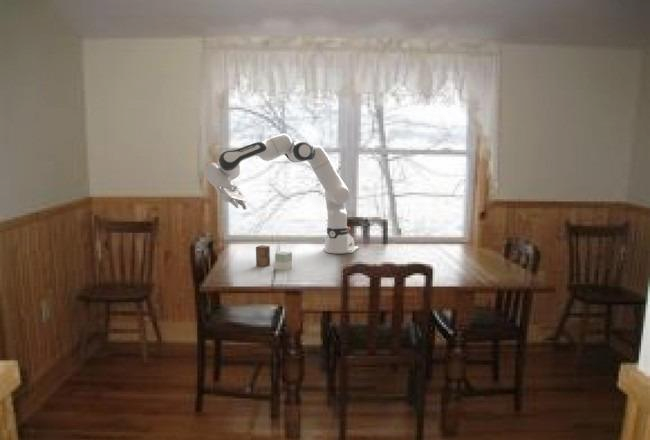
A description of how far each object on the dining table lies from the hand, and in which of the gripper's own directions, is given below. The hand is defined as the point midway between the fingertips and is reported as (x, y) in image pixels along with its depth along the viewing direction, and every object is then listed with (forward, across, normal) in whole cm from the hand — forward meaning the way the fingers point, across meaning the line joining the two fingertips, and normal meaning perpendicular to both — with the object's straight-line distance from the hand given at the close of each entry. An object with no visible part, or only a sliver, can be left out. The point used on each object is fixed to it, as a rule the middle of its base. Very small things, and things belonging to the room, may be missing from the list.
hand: (242, 208), depth 281 cm
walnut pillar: (+28, +6, +13) cm, 32 cm away
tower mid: (+35, +3, +2) cm, 35 cm away
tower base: (+38, +4, +4) cm, 38 cm away
